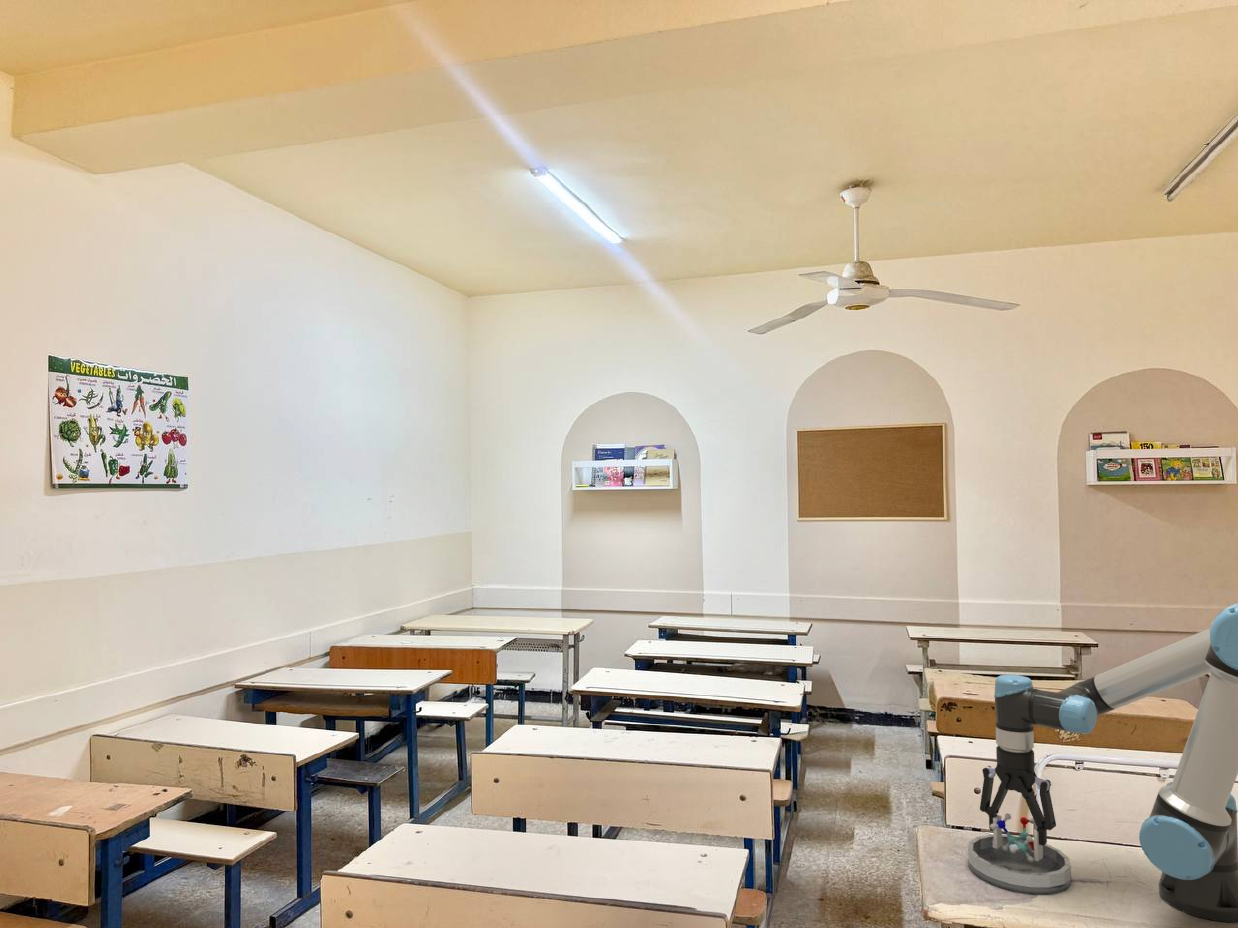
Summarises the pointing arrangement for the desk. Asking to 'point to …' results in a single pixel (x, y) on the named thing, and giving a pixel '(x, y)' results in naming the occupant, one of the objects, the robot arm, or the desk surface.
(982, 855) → the shallow grey dish
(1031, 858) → the molecular model
